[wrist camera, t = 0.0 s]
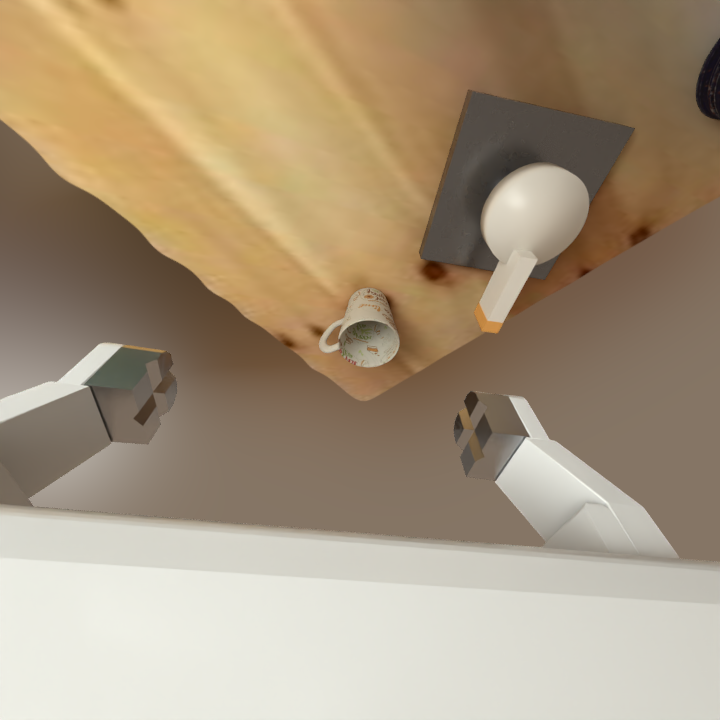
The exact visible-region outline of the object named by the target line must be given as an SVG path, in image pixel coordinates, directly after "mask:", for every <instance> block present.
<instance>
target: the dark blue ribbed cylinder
mask: <svg viewBox="0 0 720 720" xmlns="http://www.w3.org/2000/svg"><path fill="white" fill-rule="evenodd" d="M696 101H697V104H698V107H699V109H700V110H701V112H702V113H703V114H705V115H706V116H708V117H710V118H714V119H719V120H720V38H719V40H718V41H717V42H716V44H715V45H714V47H713V48H712V50H711V51H710V53H709V55H708V56H707V58H706V60H705V62H704V64H703V67H702V69H701V72H700V74H699V78H698V82H697V87H696Z"/></svg>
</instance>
